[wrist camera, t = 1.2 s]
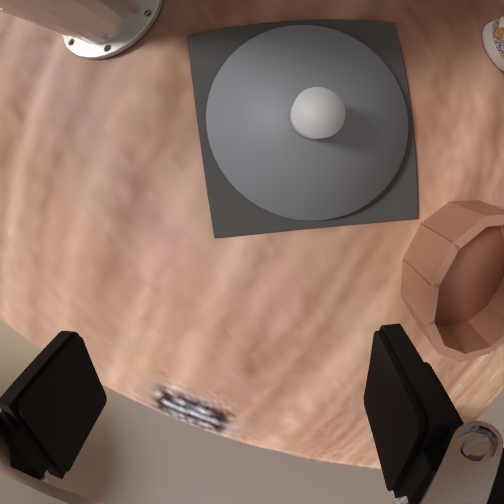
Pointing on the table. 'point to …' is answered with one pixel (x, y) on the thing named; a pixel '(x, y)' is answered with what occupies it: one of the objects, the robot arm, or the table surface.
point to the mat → (238, 206)
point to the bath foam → (495, 41)
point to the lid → (307, 122)
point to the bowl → (458, 279)
